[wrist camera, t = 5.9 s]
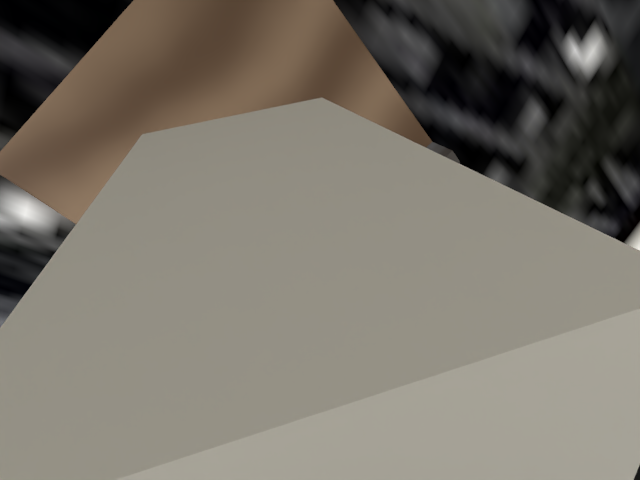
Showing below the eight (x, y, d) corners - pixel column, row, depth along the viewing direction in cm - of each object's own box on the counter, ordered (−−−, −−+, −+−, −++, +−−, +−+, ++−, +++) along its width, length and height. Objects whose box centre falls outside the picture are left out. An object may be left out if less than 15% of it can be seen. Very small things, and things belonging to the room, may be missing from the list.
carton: (237, 390, 15) (273, 850, 7) (142, 134, 10) (-183, 575, 2) (364, 351, 16) (548, 717, 7) (329, 95, 11) (740, 275, 3)
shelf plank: (0, 158, 22) (-39, 180, 18) (242, -115, 19) (249, -150, 16) (242, 321, 30) (247, 357, 27) (429, 148, 28) (461, 163, 25)
